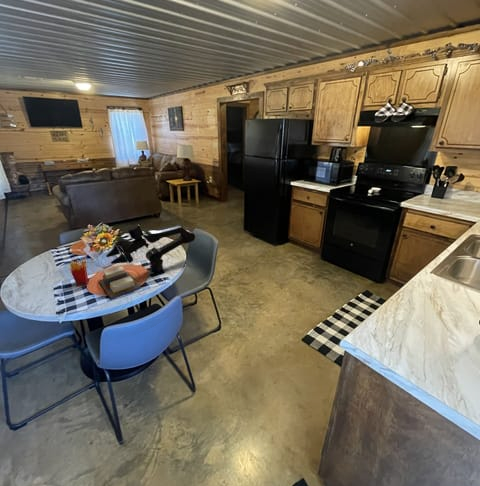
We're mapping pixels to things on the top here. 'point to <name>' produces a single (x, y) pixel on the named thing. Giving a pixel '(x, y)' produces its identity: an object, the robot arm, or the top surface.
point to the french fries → (79, 272)
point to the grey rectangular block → (114, 278)
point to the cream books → (121, 284)
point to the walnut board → (122, 292)
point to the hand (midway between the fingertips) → (108, 259)
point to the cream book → (114, 272)
